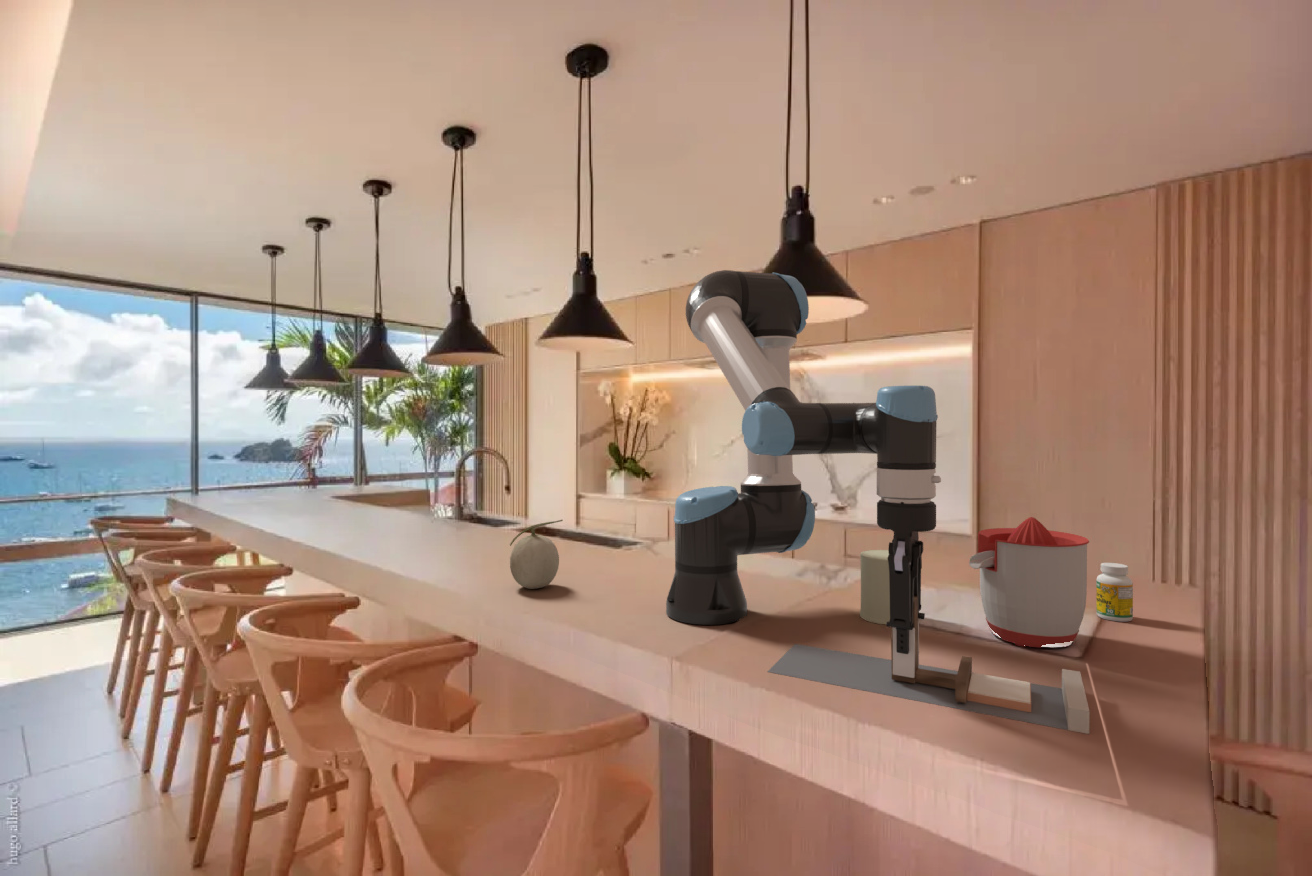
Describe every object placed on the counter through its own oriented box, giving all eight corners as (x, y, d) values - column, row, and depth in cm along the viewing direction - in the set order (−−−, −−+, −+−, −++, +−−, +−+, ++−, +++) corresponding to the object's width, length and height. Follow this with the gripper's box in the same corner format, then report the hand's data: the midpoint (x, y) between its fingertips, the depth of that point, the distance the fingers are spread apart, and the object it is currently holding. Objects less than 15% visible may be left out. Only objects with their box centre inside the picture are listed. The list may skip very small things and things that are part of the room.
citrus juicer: (951, 623, 113) (951, 510, 113) (1051, 623, 113) (1052, 510, 112) (995, 655, 98) (996, 524, 97) (1111, 655, 97) (1113, 524, 97)
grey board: (767, 674, 91) (767, 653, 91) (795, 646, 102) (795, 627, 102) (1089, 737, 72) (1089, 710, 72) (1079, 694, 84) (1080, 671, 84)
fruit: (497, 588, 140) (496, 519, 140) (543, 579, 148) (542, 514, 147) (522, 597, 132) (521, 525, 132) (569, 587, 140) (568, 519, 140)
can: (918, 626, 112) (918, 558, 111) (862, 623, 114) (862, 556, 113) (908, 611, 121) (908, 547, 120) (857, 609, 123) (857, 546, 122)
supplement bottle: (1140, 622, 113) (1140, 567, 113) (1110, 622, 113) (1111, 568, 113) (1117, 613, 119) (1117, 561, 118) (1089, 613, 118) (1089, 561, 118)
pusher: (886, 688, 84) (886, 605, 84) (899, 663, 93) (899, 588, 93) (966, 702, 80) (965, 614, 80) (971, 675, 88) (971, 595, 88)
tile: (967, 700, 81) (967, 690, 81) (971, 680, 87) (971, 672, 87) (1031, 712, 78) (1031, 702, 78) (1030, 691, 84) (1030, 682, 84)
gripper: (928, 507, 79) (927, 698, 79) (942, 494, 93) (942, 656, 93) (865, 504, 82) (865, 686, 83) (888, 492, 96) (888, 647, 97)
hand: (906, 670), depth 88 cm, fingers closed on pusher, 3 cm apart
